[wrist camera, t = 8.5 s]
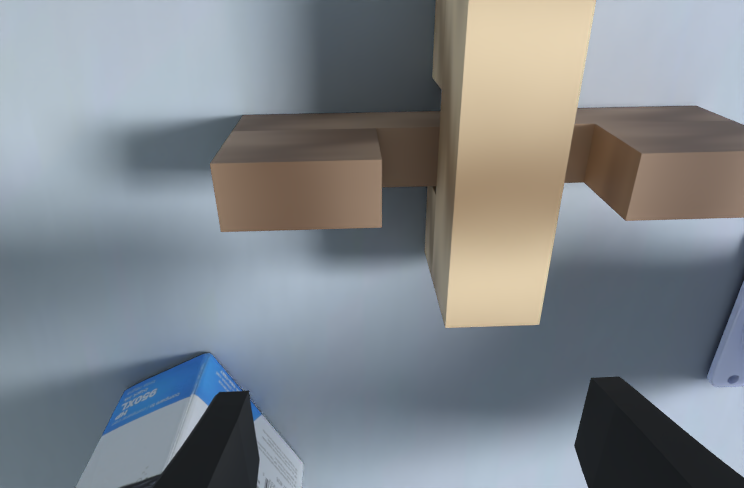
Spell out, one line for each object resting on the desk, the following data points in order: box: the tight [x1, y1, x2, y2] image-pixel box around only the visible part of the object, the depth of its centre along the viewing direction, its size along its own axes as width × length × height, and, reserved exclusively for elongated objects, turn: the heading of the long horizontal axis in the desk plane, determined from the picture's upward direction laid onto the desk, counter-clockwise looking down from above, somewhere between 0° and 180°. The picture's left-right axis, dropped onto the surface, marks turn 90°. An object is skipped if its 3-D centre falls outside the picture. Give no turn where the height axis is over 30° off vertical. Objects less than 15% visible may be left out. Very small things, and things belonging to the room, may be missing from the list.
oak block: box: [425, 0, 596, 328], centre depth 16 cm, size 10×3×5 cm, turn 1°
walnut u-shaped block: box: [210, 106, 744, 232], centre depth 17 cm, size 16×2×5 cm, turn 91°
